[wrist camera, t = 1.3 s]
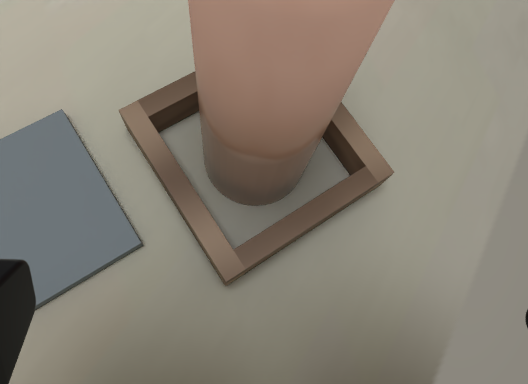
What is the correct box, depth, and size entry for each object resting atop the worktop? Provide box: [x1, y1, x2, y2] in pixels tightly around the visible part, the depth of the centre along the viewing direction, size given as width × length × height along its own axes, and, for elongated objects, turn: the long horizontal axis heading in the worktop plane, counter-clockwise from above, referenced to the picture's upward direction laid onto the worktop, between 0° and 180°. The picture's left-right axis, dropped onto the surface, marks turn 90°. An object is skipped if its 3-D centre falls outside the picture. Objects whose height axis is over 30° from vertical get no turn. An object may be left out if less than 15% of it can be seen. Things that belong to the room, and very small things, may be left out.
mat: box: [0, 109, 143, 310], centre depth 20 cm, size 8×8×1 cm
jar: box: [188, 0, 395, 206], centre depth 16 cm, size 5×5×14 cm
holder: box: [119, 72, 394, 286], centre depth 22 cm, size 10×10×2 cm
